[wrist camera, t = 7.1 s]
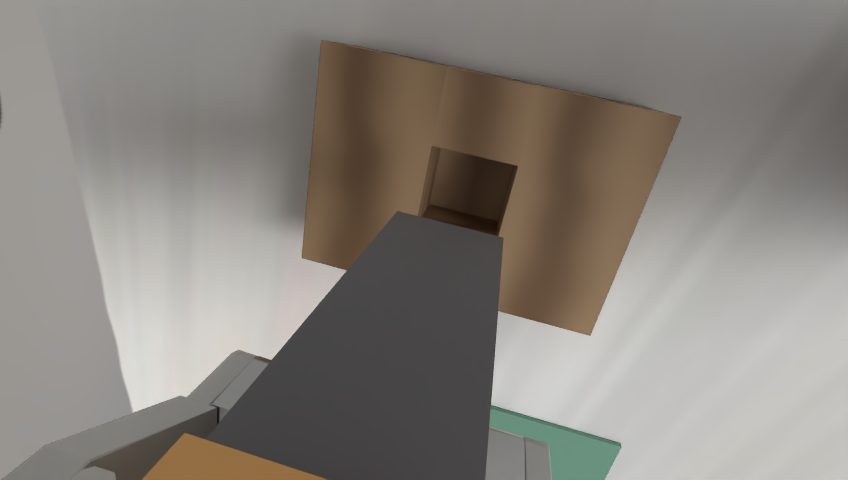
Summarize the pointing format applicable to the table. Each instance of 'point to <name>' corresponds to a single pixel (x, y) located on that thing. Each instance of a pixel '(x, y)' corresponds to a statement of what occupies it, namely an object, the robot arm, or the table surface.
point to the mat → (562, 445)
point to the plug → (373, 373)
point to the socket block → (482, 172)
